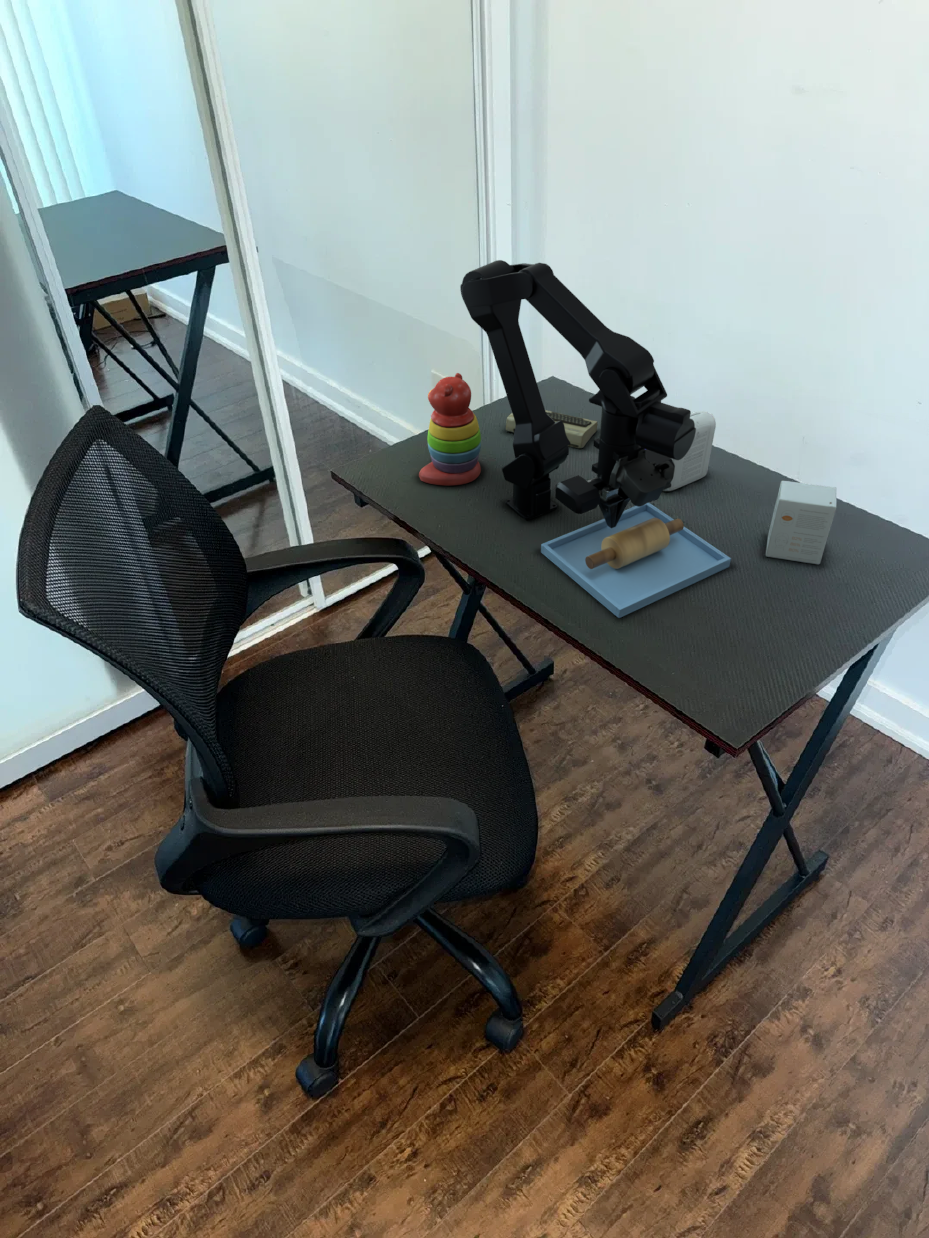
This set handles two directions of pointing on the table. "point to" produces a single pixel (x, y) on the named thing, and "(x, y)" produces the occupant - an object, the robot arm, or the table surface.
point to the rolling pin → (634, 543)
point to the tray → (635, 563)
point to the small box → (801, 522)
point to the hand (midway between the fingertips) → (611, 526)
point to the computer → (567, 427)
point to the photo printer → (695, 452)
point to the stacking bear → (452, 435)
